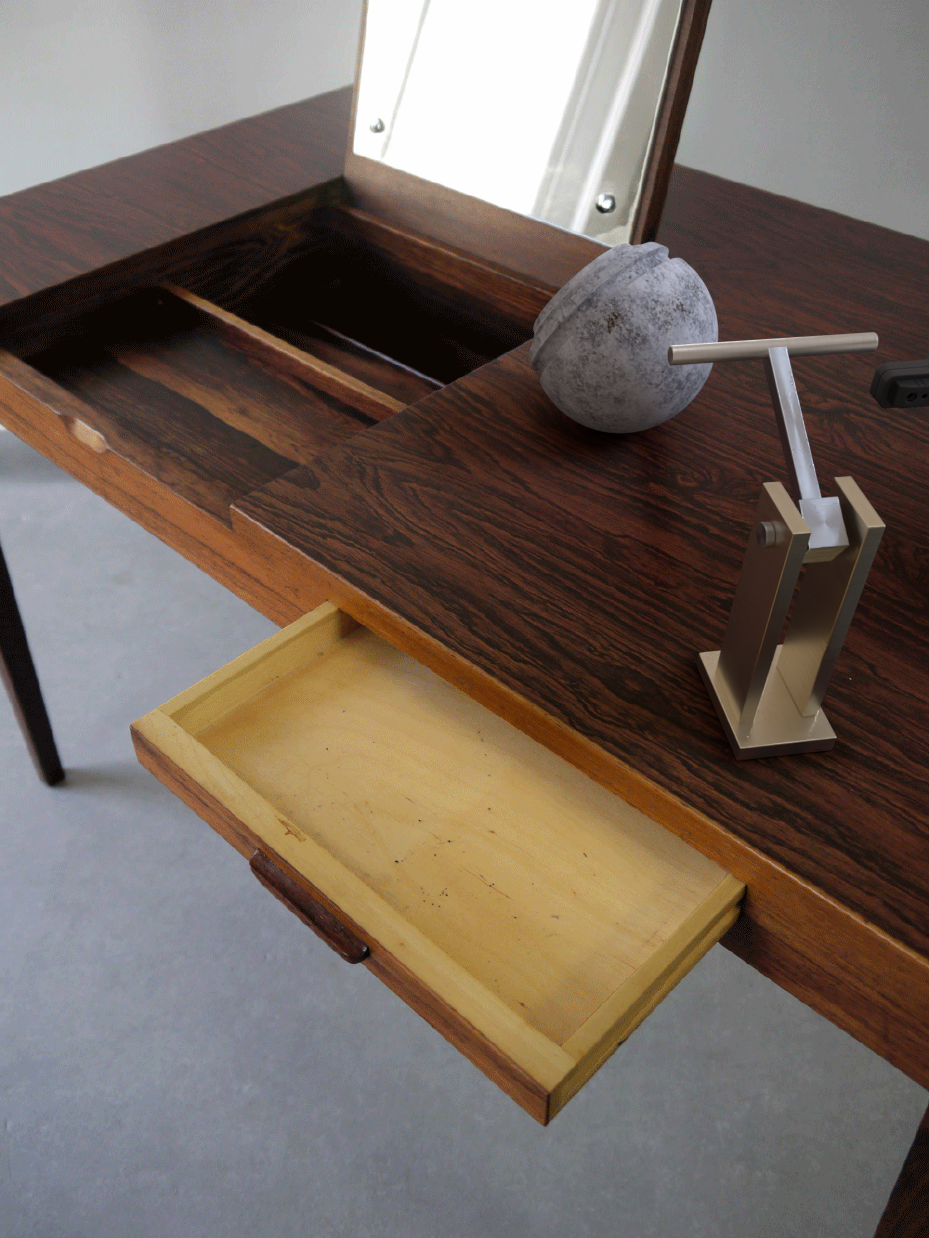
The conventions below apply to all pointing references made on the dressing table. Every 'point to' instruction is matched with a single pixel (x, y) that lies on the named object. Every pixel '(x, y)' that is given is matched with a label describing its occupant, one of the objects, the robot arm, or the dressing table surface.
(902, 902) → the dressing table surface
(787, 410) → the tap lever
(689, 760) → the dressing table surface
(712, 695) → the bracket
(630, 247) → the decorative orb
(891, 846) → the dressing table surface
